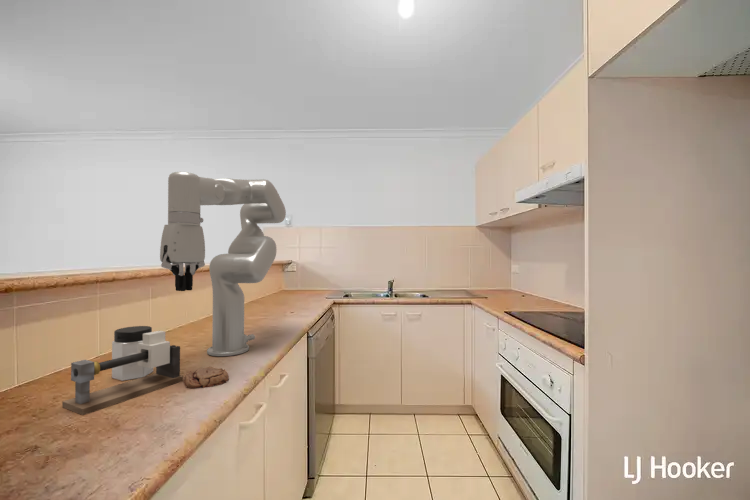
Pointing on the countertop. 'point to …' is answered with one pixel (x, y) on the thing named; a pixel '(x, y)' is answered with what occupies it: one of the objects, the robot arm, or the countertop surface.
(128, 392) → the comb rig
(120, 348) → the jar
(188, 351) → the countertop surface
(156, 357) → the sleeve
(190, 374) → the cookie
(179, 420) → the countertop surface
